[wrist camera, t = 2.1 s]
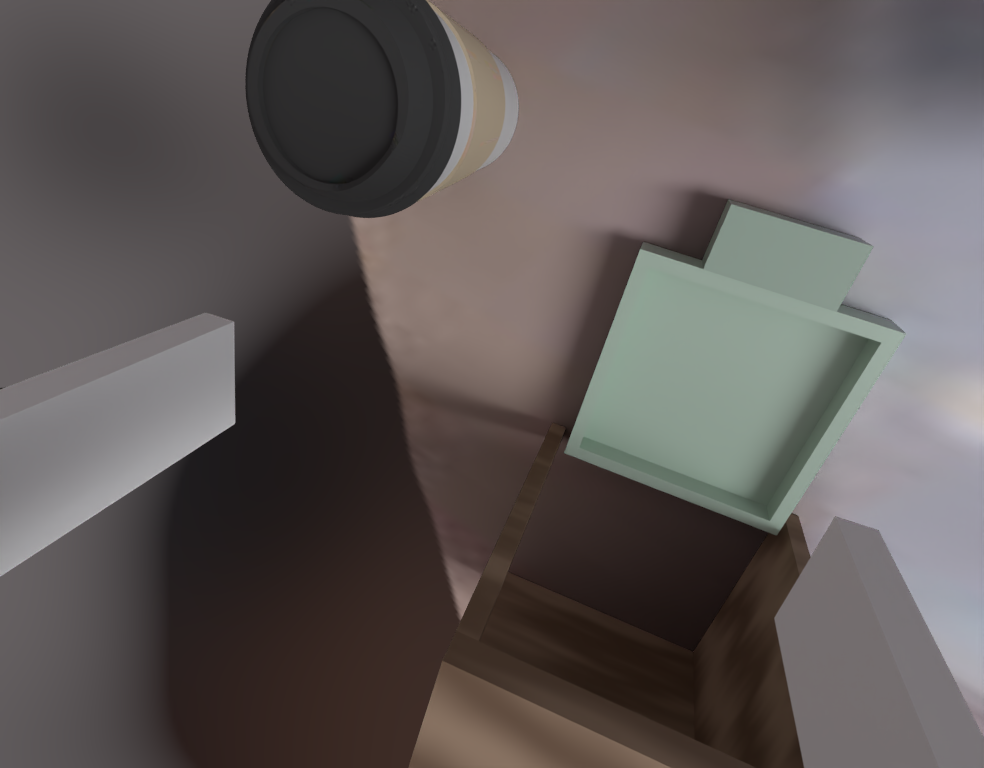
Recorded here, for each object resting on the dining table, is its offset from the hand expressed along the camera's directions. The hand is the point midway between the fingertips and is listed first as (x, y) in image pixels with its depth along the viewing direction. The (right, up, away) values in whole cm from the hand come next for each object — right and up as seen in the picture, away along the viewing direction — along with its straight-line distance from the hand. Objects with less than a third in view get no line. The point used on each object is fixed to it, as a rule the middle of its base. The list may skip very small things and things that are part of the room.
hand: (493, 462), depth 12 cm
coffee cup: (-2, +18, +21) cm, 28 cm away
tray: (+14, +3, +22) cm, 27 cm away
